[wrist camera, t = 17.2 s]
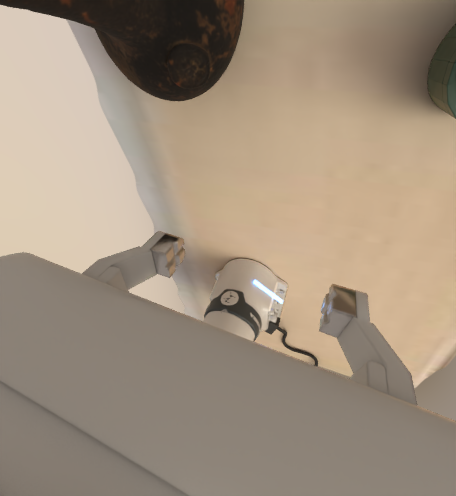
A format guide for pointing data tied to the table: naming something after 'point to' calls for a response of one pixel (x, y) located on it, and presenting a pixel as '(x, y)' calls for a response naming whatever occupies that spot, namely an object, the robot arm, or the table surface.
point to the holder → (444, 74)
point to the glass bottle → (158, 38)
